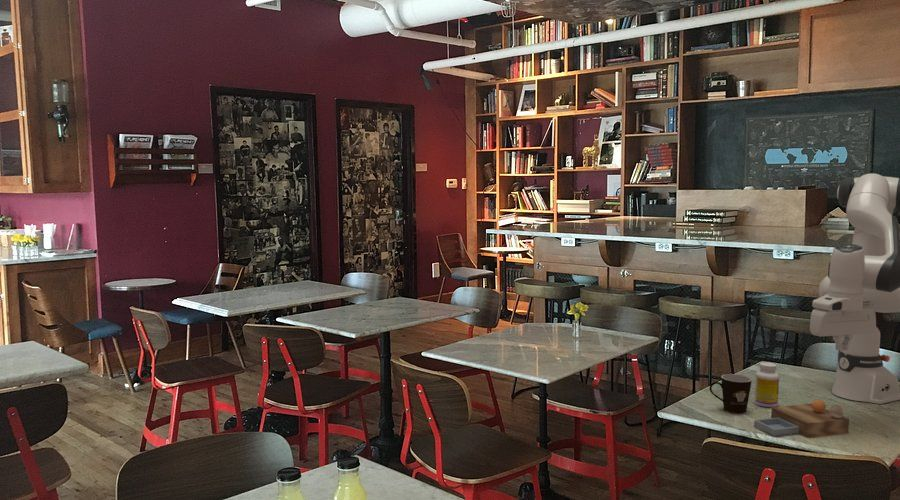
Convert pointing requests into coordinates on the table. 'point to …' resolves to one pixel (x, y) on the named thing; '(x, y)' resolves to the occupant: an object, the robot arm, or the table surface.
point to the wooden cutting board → (811, 420)
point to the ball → (818, 405)
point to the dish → (776, 427)
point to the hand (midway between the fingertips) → (841, 350)
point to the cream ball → (836, 411)
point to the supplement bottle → (767, 385)
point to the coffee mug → (734, 392)
